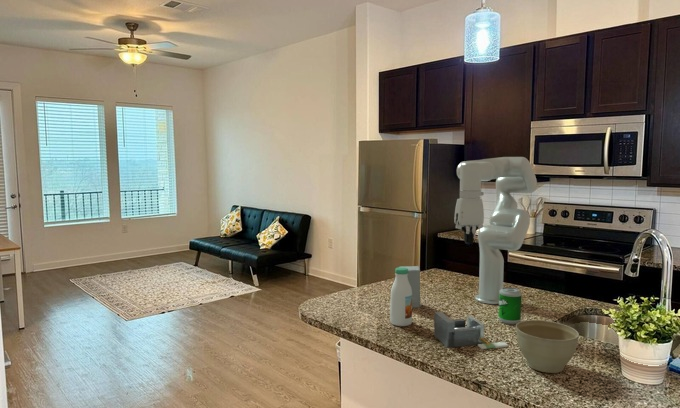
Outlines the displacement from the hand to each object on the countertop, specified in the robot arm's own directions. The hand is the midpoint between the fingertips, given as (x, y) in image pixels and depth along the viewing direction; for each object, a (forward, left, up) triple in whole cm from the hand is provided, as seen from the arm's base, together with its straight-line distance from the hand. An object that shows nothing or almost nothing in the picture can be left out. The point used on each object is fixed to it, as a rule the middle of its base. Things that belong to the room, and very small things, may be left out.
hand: (468, 243), depth 172 cm
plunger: (+13, +25, -27) cm, 39 cm away
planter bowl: (0, +46, -27) cm, 53 cm away
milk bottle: (+28, +4, -27) cm, 39 cm away
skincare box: (+18, -14, -27) cm, 36 cm away
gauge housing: (+16, +23, -27) cm, 39 cm away
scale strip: (+7, +30, -27) cm, 41 cm away
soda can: (-11, +11, -27) cm, 31 cm away
